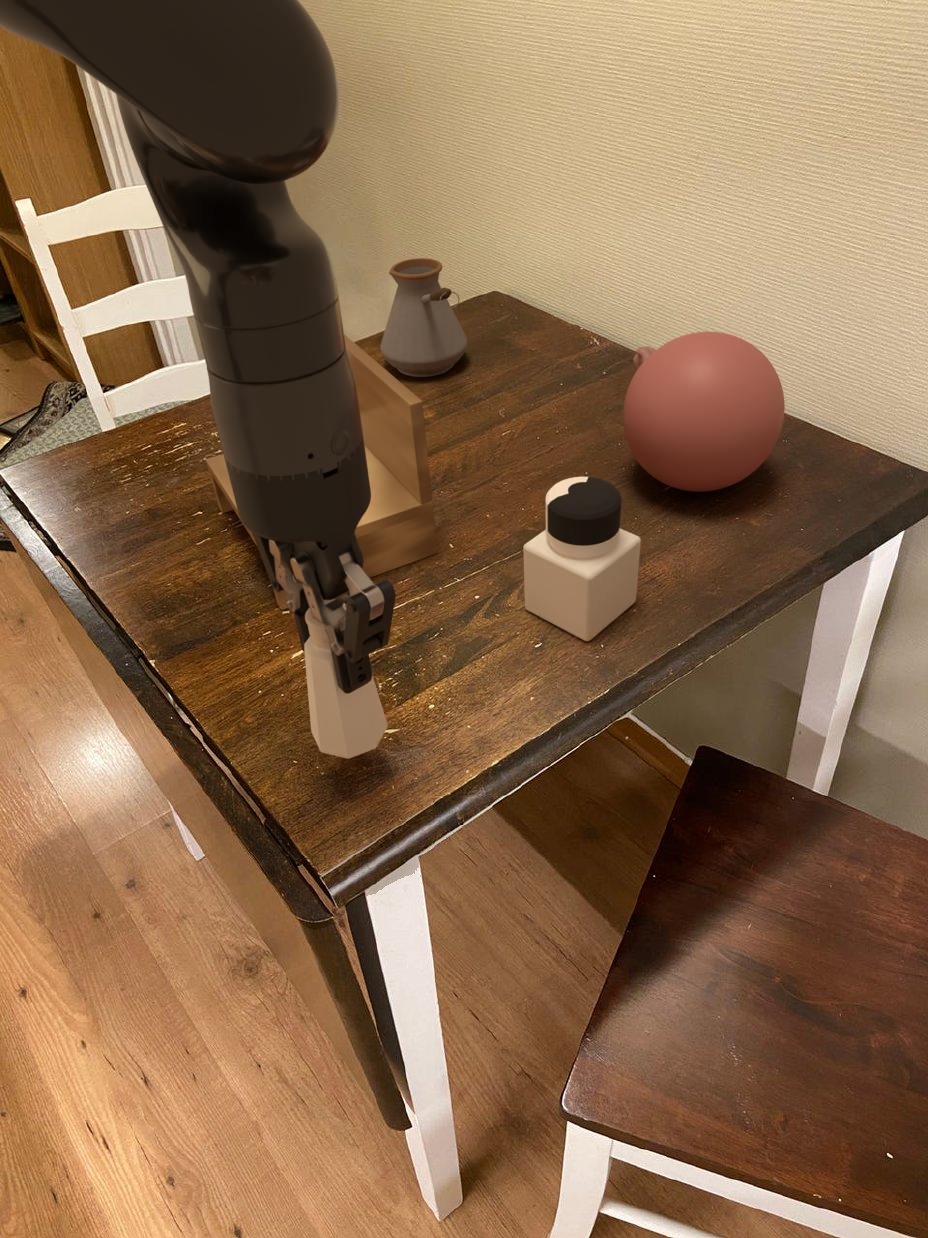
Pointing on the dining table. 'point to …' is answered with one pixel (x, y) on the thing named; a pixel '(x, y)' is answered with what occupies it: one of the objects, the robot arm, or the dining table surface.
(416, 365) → the coffee pot
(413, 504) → the shelf
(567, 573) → the medicine bottle
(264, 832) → the dining table surface
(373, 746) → the pepper shaker
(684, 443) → the balloon
